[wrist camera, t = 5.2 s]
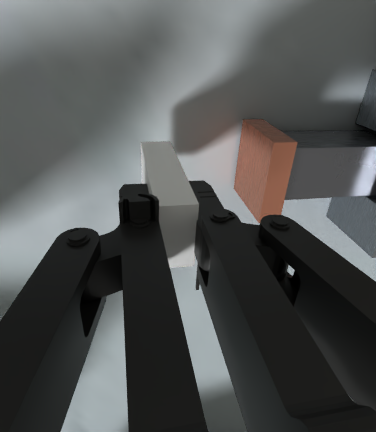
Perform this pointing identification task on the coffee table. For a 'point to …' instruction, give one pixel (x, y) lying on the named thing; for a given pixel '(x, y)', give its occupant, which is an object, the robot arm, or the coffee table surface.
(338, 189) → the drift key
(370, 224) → the socket block
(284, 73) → the coffee table surface
